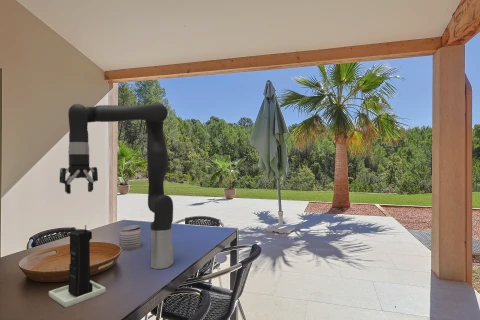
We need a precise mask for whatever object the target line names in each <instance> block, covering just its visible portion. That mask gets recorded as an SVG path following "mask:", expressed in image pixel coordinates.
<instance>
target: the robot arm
mask: <svg viewBox="0 0 480 320" xmlns="http://www.w3.org/2000/svg"><path fill="white" fill-rule="evenodd" d="M67 114H68V126H69V132H68V153H67V154H68V167H67V168H66V167H61V168H60V169H59V184H63V185H64V192H65V193H66V194H67V195H68V194H69V195H70V194H71V193H72V191H71V187H72V186H71V183H72V182H73V181H74V180H75V179H80V178H81V179H82V178H83V179H85V180H86V181H87V182H88V183H87V192H88V193H91V192H93V191H94V183H95V182H98V181H99V180H98V179H99V175H98V167H96V166H93V167H91V166H90V145H89V132H88V131H89V130H88V125H89V124H88V123H95V122H96V123H97V122H98V123H99V122H100V123H107V122H108V123H109V122H110V123H111V122H113V123H114V122H125V121H136V120H138V121H141V120H142V121H145V125H146V135H147V136H146V140H147V141H146V142H147V143H146V155H147V156H146V160H147V161H146V162H147V164H146V165H147V176H148V177H147V178H148V180H147V181H148V195H147V206H148V209H149V211H151V212H152V213H153V214H154V215H153V221H152V222H151V223H150V267H151V268H152V269H155V270H163V269H168V268H170V267H171V266H172V265H174V244H173V243H172V224H173V219H174V202H173V199H172V198H171V196H169V195H167V194H165V191H164V190H165V189H164V182H165V177H166V174H167V171H168V165H169V159H168V158H169V157H168V156H169V154H168V150H167V144H166V141H165V138H164V121H165V120H166V119H167V118H168V109H167V107H166V106H165V105H164V104H163V103H161V102H151V103H147V104H139V105H137V104H136V105H135V104H134V105H119V104H118V105H108V104H107V105H106V104H101V105H96V106H84V105H82V104H79V103H75V104H73V105H71V106H70V107H69V109H68V113H67ZM90 172H91V175H90V174H89V173H90ZM68 173H69V175H68V176H67V174H68ZM66 176H67V177H66Z"/></svg>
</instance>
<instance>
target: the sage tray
mask: <svg viewBox="0 0 480 320" xmlns="http://www.w3.org/2000/svg"><path fill="white" fill-rule="evenodd" d="M90 283H92V287H93V290H92V292H90V293H87V294H84V295H81V296H79V297H76V296H74V295H72V294H71V293H70V292H68V289H69V284H67V285H64V286H61V287H57V288H55V289H52V290H49V291H48V297H49V298H50V299H52V300H53V301H55V302H56V303H58V304H59V305H61V306H63V307H64V308H68V307H71V306H73V305H76V304H79V303H82V302H84V301H87V300H90V299H93V298H95V297H99V296H100V295H103V294H106V289H107V288H106V287H105V286H103V285H101V284H99V283H97V282H96V281H95V282H94V281H93V280H91V279H90Z"/></svg>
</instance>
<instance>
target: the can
mask: <svg viewBox="0 0 480 320" xmlns="http://www.w3.org/2000/svg"><path fill="white" fill-rule="evenodd" d="M118 230H119V231H118V233H119V234H118V242H119V244H118V245H119V246H120V247H121V249H122V251H121V252H132V251H136V250H140V248H141V245H142V243H141V235H142V234H141V233H142V232H141V231H142V230H141V225H140V224H138V225H137V224H133V225H128V226H123V227H120V228H119V229H118Z"/></svg>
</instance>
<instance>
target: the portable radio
mask: <svg viewBox="0 0 480 320" xmlns="http://www.w3.org/2000/svg"><path fill="white" fill-rule="evenodd" d="M92 239H93V232H92V231H90V230H87V225H84V229H76V230H72V231H70V233H69V256H70V258H69V259H70V261H69V262H70V263H69V265H68V266H69V267H68V268H69V269H68V273H69V274H68V285H69V289H68V292H70V293H71V294H72V295H74V296H76V297H79V296H81V295H84V294H87V293H90V292H92V290H93V287H92V283H90V280H91V262H90V261H91V257H90V256H91V255H90V254H91V253H90V250H91V249H90V245H91V243H90V242H91V240H92Z"/></svg>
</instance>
